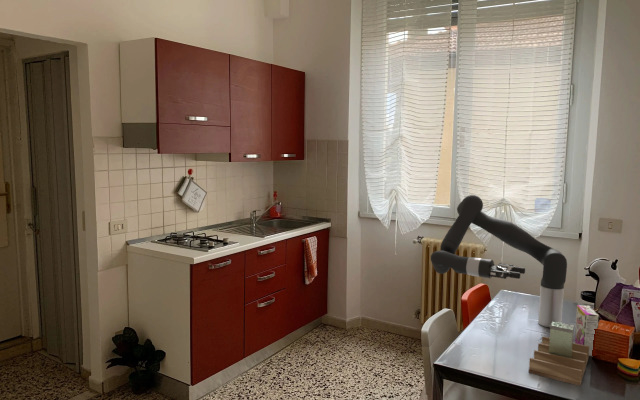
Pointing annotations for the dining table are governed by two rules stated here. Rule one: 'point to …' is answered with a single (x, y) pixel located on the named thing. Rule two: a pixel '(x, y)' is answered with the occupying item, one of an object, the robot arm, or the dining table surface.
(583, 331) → the candy bar box
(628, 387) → the dining table surface
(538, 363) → the plate rack
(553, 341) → the tea tin
